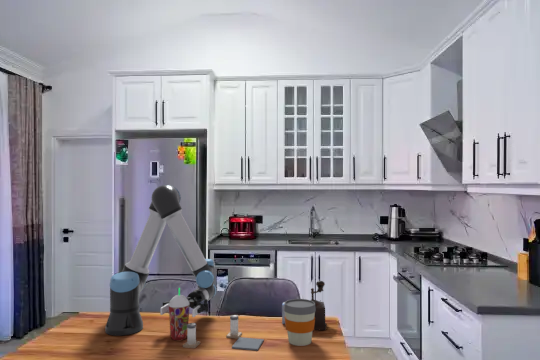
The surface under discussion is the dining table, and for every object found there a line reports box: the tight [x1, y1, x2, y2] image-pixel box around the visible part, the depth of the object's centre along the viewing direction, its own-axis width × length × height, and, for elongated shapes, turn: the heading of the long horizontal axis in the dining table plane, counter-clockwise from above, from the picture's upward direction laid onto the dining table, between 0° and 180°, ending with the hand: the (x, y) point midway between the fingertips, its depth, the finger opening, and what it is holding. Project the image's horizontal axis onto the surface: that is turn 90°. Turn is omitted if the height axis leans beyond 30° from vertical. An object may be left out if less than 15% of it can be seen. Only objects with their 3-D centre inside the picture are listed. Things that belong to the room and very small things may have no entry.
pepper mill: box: [310, 280, 327, 331], centre depth 180 cm, size 16×11×18 cm
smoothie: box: [168, 287, 190, 341], centre depth 164 cm, size 8×8×20 cm
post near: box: [182, 322, 201, 349], centre depth 156 cm, size 5×5×8 cm
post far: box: [226, 314, 243, 340], centre depth 166 cm, size 5×5×8 cm
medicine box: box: [281, 301, 286, 325], centre depth 182 cm, size 8×4×9 cm, turn 84°
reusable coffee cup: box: [284, 298, 316, 347], centre depth 160 cm, size 13×13×15 cm
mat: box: [231, 336, 265, 351], centre depth 157 cm, size 10×10×1 cm
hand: (176, 312), depth 161 cm, fingers open, 13 cm apart
